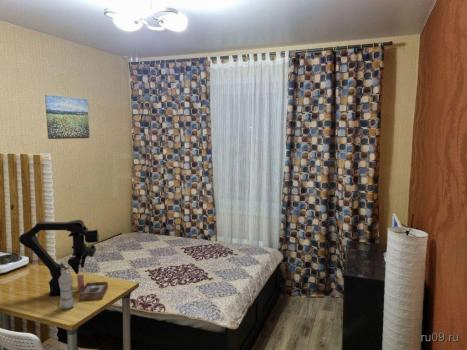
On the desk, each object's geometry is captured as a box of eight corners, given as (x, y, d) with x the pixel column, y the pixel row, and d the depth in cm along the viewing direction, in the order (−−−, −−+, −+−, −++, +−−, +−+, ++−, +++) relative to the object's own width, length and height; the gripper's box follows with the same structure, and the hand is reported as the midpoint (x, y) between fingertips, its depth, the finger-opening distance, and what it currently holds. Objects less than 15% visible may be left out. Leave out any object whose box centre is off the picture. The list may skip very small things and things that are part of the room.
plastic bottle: (63, 304, 172) (60, 266, 170) (76, 304, 172) (74, 266, 170) (57, 311, 166) (55, 272, 163) (71, 310, 166) (69, 271, 164)
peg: (77, 292, 186) (76, 276, 185) (79, 289, 189) (78, 274, 188) (83, 291, 186) (82, 276, 185) (85, 289, 189) (84, 273, 188)
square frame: (80, 300, 176) (79, 293, 176) (87, 289, 189) (87, 282, 188) (101, 299, 177) (101, 291, 177) (107, 288, 190) (107, 281, 190)
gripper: (88, 248, 176) (90, 276, 178) (98, 237, 195) (99, 263, 196) (66, 249, 175) (68, 278, 177) (78, 238, 193) (79, 264, 195)
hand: (80, 270), depth 186 cm, fingers open, 9 cm apart
